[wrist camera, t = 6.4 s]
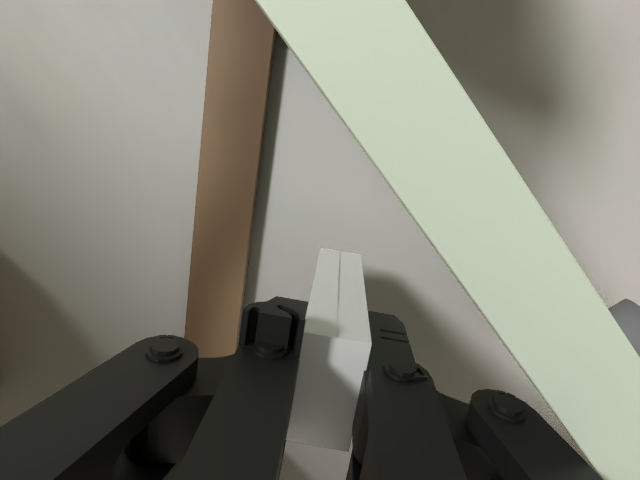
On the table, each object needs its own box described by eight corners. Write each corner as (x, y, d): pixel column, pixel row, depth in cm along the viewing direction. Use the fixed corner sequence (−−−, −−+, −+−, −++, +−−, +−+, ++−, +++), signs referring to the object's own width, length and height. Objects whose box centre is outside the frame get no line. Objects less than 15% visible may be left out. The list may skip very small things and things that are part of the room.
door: (221, -46, 14) (-55, -430, 4) (298, -118, 13) (173, -760, 4) (509, 353, 17) (727, 650, 7) (584, 309, 16) (927, 571, 7)
